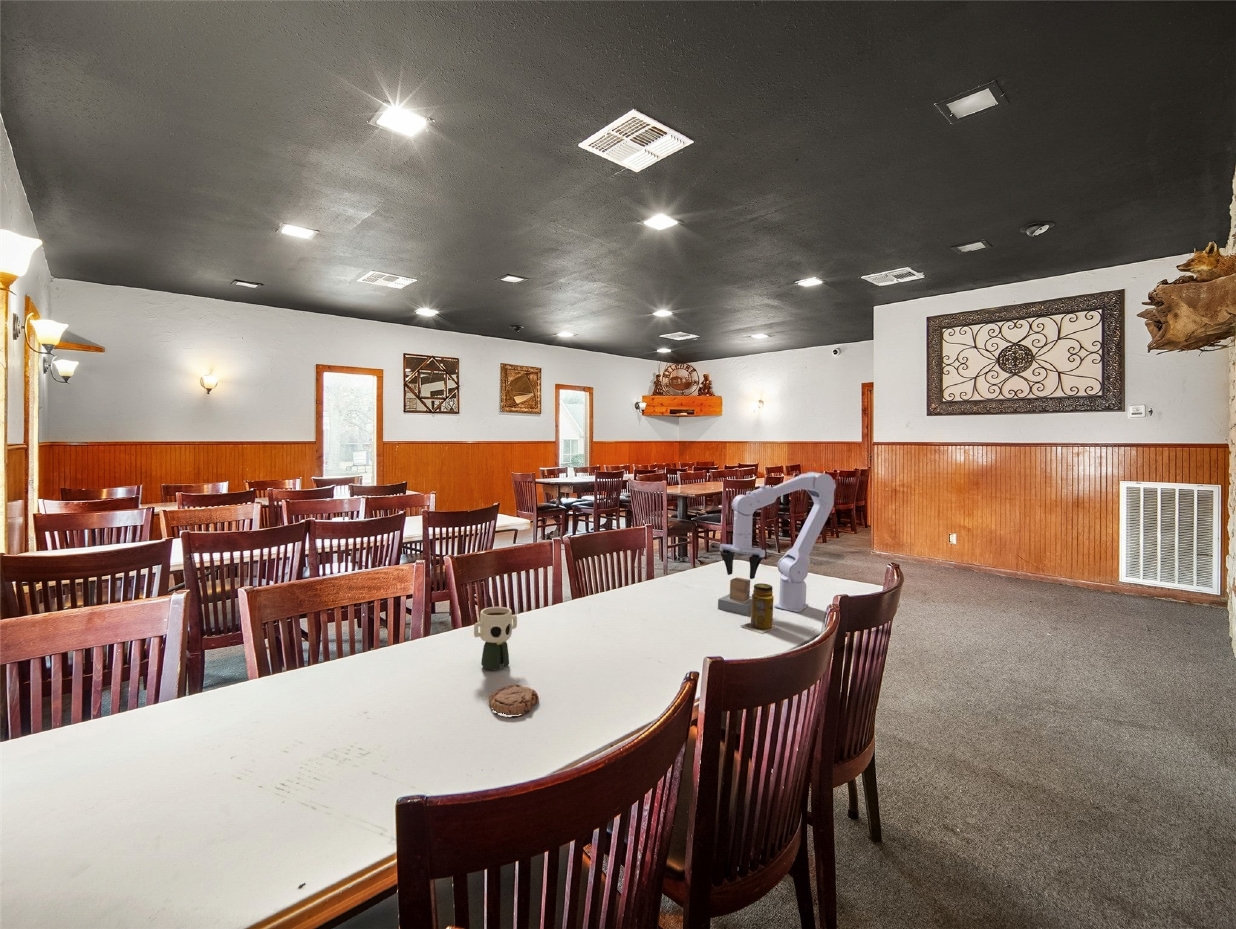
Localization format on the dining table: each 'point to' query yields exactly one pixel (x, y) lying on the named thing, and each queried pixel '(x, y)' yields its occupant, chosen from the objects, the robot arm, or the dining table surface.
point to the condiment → (761, 609)
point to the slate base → (735, 605)
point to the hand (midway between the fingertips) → (740, 576)
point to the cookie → (513, 699)
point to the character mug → (495, 635)
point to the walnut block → (740, 589)
